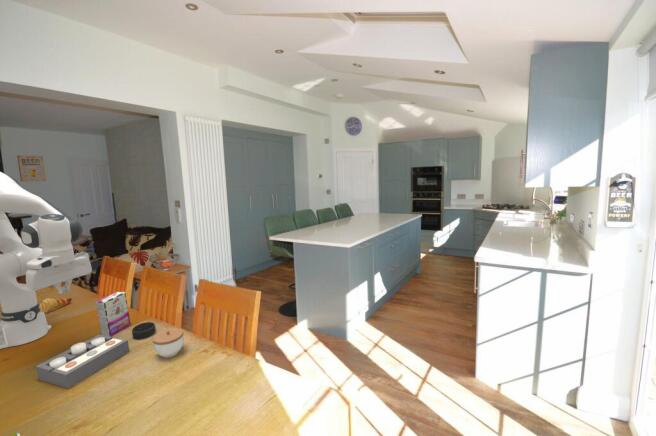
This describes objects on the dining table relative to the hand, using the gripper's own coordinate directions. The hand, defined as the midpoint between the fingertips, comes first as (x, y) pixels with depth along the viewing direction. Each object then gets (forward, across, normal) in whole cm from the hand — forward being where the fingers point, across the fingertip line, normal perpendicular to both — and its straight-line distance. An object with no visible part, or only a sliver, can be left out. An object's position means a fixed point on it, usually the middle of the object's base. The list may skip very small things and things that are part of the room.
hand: (64, 292), depth 119 cm
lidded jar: (+25, -12, +37) cm, 46 cm away
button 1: (+24, +10, +9) cm, 28 cm away
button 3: (+24, -4, +9) cm, 26 cm away
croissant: (+29, -25, -60) cm, 71 cm away
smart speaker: (+26, -20, +14) cm, 36 cm away
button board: (+26, +3, +12) cm, 29 cm away
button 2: (+23, +3, +9) cm, 25 cm away
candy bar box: (+26, -19, -2) cm, 33 cm away
